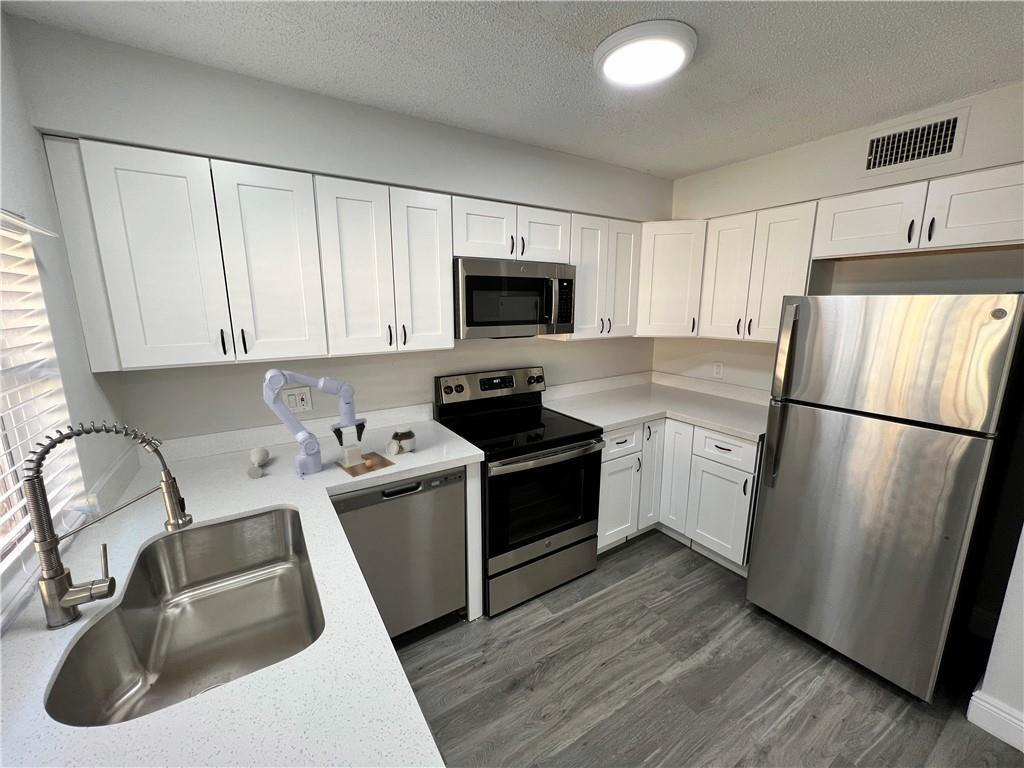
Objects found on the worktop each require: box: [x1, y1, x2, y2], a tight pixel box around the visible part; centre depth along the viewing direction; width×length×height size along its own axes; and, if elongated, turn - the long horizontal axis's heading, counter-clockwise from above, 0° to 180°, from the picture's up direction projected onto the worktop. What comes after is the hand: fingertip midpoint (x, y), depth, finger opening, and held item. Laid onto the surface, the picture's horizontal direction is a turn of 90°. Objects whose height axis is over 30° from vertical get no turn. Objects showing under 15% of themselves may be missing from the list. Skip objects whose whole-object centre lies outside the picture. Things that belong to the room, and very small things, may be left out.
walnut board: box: [333, 451, 396, 478], centre depth 173 cm, size 18×20×1 cm
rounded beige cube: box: [341, 443, 362, 465], centre depth 174 cm, size 6×6×6 cm
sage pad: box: [336, 458, 366, 468], centre depth 175 cm, size 9×9×1 cm
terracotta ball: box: [366, 460, 373, 467], centre depth 169 cm, size 3×3×3 cm
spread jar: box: [385, 424, 417, 456], centre depth 186 cm, size 12×11×12 cm
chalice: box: [246, 446, 270, 480], centre depth 170 cm, size 7×7×18 cm
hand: (350, 443), depth 173 cm, fingers open, 7 cm apart
